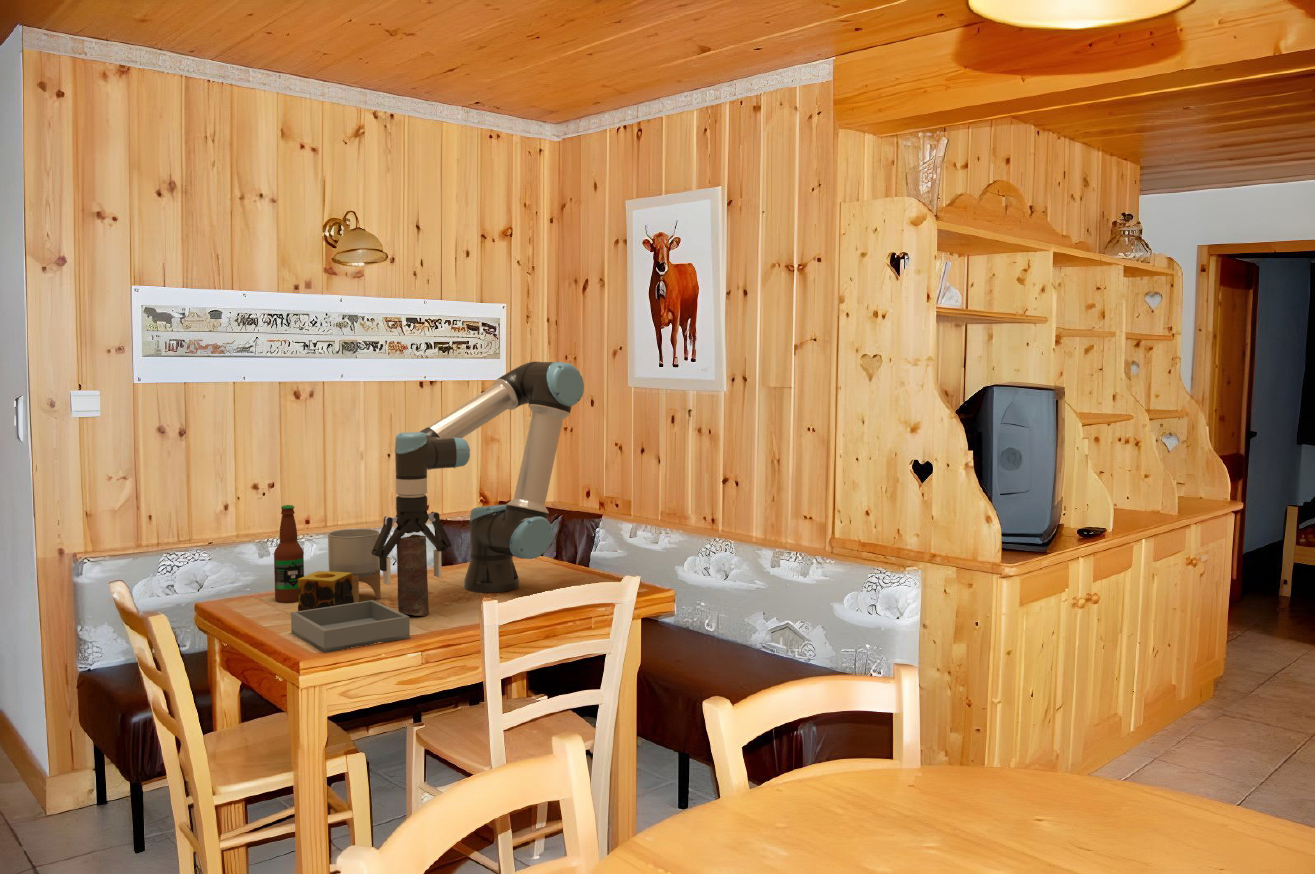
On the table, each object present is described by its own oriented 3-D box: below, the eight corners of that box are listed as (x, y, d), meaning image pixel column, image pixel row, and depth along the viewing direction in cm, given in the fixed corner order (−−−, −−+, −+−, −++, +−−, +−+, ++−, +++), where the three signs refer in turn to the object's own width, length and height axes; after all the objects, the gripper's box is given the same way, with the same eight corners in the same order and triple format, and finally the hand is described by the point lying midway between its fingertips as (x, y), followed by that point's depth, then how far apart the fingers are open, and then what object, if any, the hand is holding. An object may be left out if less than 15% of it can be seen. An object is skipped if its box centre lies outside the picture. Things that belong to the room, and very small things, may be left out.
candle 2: (401, 619, 256) (400, 538, 254) (394, 612, 262) (393, 533, 261) (432, 616, 259) (431, 536, 258) (424, 609, 266) (423, 531, 264)
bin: (373, 620, 255) (373, 599, 255) (409, 638, 240) (409, 616, 239) (291, 633, 243) (290, 612, 242) (324, 653, 227) (323, 630, 227)
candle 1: (334, 621, 254) (334, 580, 253) (296, 618, 256) (296, 578, 255) (355, 611, 264) (354, 572, 263) (318, 608, 266) (317, 570, 265)
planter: (328, 595, 280) (327, 529, 279) (379, 592, 284) (377, 527, 283) (329, 606, 268) (328, 538, 267) (381, 603, 272) (380, 535, 271)
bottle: (276, 604, 270) (273, 508, 268) (274, 598, 276) (271, 504, 274) (306, 602, 273) (303, 506, 271) (303, 595, 279) (301, 503, 277)
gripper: (450, 489, 269) (450, 570, 271) (356, 497, 253) (358, 583, 255) (464, 492, 263) (465, 575, 265) (369, 501, 248) (371, 589, 249)
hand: (412, 580), depth 260 cm, fingers open, 13 cm apart
